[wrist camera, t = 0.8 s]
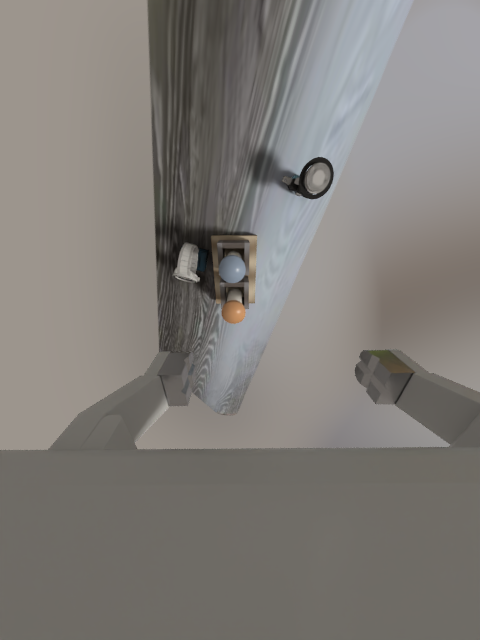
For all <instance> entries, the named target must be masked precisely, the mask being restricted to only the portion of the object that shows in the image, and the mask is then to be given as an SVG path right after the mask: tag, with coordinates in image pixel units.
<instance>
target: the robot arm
mask: <svg viewBox="0 0 480 640" xmlns="http://www.w3.org/2000/svg"><path fill="white" fill-rule="evenodd" d="M359 358H360V359H361V361H360V362H359V363H358V364H356V368H355V376H356V378H357V380H358V381H359V383H360V384H361V385H363V386H364V387H366V388H367V389H366V392H367V393H368V395H369V396H370V397H371V399H372V400H373V401H374V402H375V404H396V406H397V407H398V408H400V409H401V410H403V411H404V412H406V413H407V414H408V415H410V416H411V417H413V418H414V419H415V420H417V421H418V422H419V423H421V424H422V425H424V426H425V427H426V428H428V429H429V430H431V431H432V432H433V433H435V434H436V435H438V436H439V437H441V438H442V439H443V440H445V441H446V442H448V443H449V444H450V446H449V447H417V448H416V447H412V448H411V447H410V448H409V447H405V448H404V447H403V448H280V449H279V448H265V449H137V447H136V445H135V442H136V441H137V440H138V439H139V438H140V437H141V436H142V435H143V434H144V433H145V431H146V430H147V429H149V428H150V426H151V425H152V424H153V423H154V422H155V421H156V420H157V419H158V418H159V417H160V416H161V415H162V414H163V413H164V412H165V410H167V409H168V407H169V406H187V405H188V404H189V400H190V397H191V387H193V386H194V383H195V377H196V369H195V365H194V364H193V360H194V357H193V353H192V352H173V351H171V352H159V353H158V354H157V356H156V357H155V359H154V360H153V362H152V363H151V365H150V367H149V368H148V370H147V371H146V373H145V375H144V376H139V377H138V378H136V379H134V380H133V381H131V382H130V383H128V384H126V385H125V386H123V387H121V388H120V389H118V390H117V391H115V392H113V393H112V394H110V395H108V396H107V397H105V398H104V399H102V400H100V401H99V402H97V403H96V404H94V405H92V406H91V407H89V408H88V409H86V410H84V411H83V412H81V413H79V414H78V416H77V417H76V418H75V419H74V420H73V421H72V422H71V424H70V425H69V426H68V427H67V428H66V429H65V431H64V432H63V433H62V434H61V435H60V436H59V438H58V439H57V440H56V441H55V442H54V443H53V445H52V446H51V447H50V448H49V449H48V450H0V640H480V392H477V391H475V390H473V389H470V388H468V387H465V386H463V385H461V384H458V383H456V382H453V381H451V380H449V379H446V378H444V377H441V376H439V375H436V374H434V373H429V372H428V371H426V370H425V369H424V368H422V367H421V366H420V365H419V364H417V363H416V362H415V361H413V360H412V359H411V358H410V357H408V356H407V355H406V354H404V353H403V352H402V351H400V350H397V349H388V350H363V351H362V352H361V354H360V356H359Z"/></svg>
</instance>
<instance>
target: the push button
mask: <svg viewBox="0 0 480 640" xmlns="http://www.w3.org/2000/svg"><path fill="white" fill-rule="evenodd" d="M311 165H312V166H311ZM310 166H311V167H310ZM309 167H310V168H309ZM308 168H309V169H308ZM307 169H308V171H307ZM333 175H334V172H333V167H332V165H331V163H330V162H329V161H328V160H327V159H326V158H323V157H317V158H314V159H312V160H311V161H309V162H308V163H307V164H306V165H305V166H304V168H303V169H302V171H301V174H300V177H299V176H297V175H294V176H293V177H292V178H291V177H290V178H289V177H286V176H284V177H283V179H282V182H284V183H286V185H289V189H290V190H294V191H297V193H295V195H297V196H301V195H304V197H305V198H308V199H317V198H320V197H321V196H323V195H324V194H325V193H326V192H327V191H328V190H329V188H330V186H331V184H332V181H333ZM285 179H286V180H285ZM312 194H316V195H312Z"/></svg>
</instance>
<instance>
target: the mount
mask: <svg viewBox="0 0 480 640" xmlns="http://www.w3.org/2000/svg"><path fill="white" fill-rule="evenodd" d="M211 243H212V256H213V268H214V281H215V293H216V303H221V309H222V308H223V305H224V304H225V303H226V302H227V296H228V292H229V290H231V289H233V288H236V289H239V290H240V291H241V294H242V304H243V305H244V307H245V309H249V303H255V277H256V247H257V235H212V236H211ZM231 251H237V252H238V253H239V254H240V255H241V259H242V260H243V261H244V263H245V268H246V272H245V275H244V277H243V279H242V280H240V281H239V282H237V283H228V282H226V281H224V280H223V279H222V278H221V276H220V274H219V265H220V263H221V261H222V259H223V258H225V257H226V256H227V254H228V253H229V252H231Z"/></svg>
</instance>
